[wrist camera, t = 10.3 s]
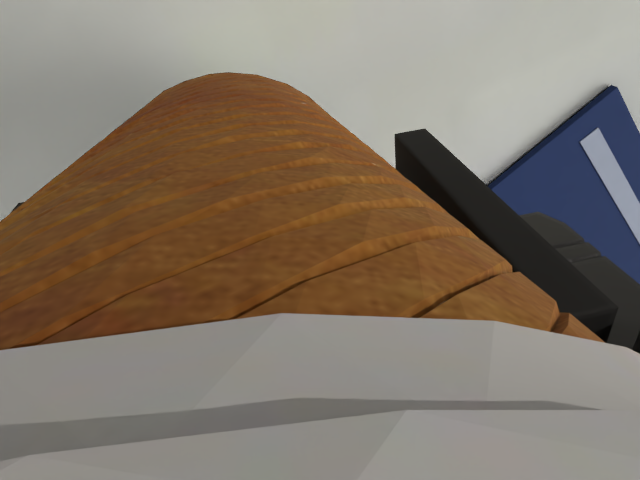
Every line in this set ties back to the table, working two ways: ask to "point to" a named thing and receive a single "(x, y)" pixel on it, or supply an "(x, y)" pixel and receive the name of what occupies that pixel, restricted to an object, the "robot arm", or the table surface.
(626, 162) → the napkin
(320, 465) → the disposable coffee cup
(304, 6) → the table surface
